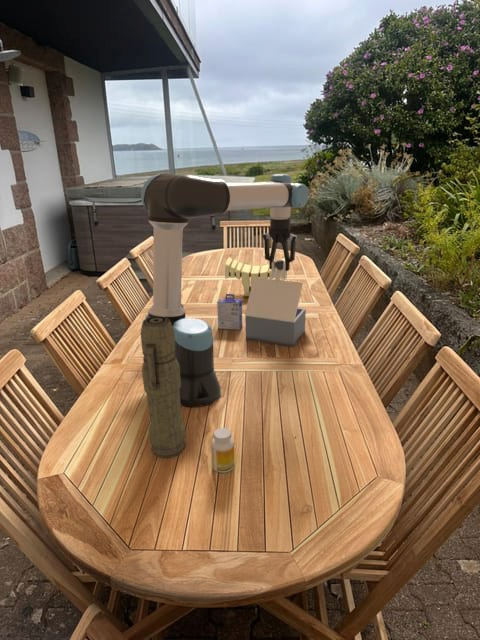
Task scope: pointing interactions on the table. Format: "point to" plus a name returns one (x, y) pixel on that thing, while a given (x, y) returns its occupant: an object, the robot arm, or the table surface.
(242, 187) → the robot arm
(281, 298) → the lid
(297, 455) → the table surface
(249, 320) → the carton
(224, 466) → the supplement bottle
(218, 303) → the ink cartridge box
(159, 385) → the thermos
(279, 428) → the table surface
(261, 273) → the slatted curved stool
